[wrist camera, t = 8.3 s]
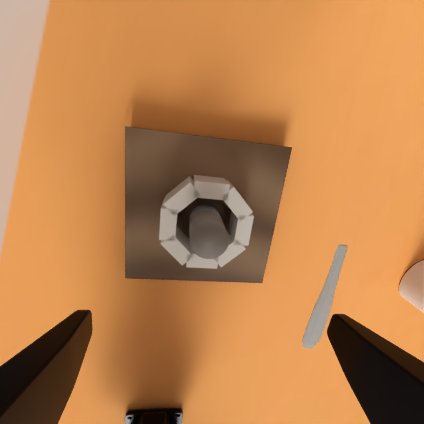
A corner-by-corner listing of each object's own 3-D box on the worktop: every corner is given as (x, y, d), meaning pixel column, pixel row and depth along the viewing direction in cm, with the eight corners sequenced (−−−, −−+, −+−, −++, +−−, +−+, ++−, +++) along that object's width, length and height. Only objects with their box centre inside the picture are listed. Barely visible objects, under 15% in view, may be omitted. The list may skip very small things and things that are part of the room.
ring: (236, 254, 19) (243, 269, 17) (160, 249, 19) (157, 265, 16) (249, 180, 17) (259, 187, 15) (165, 171, 17) (162, 177, 14)
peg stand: (257, 273, 22) (281, 321, 16) (129, 268, 20) (108, 319, 15) (283, 146, 18) (327, 151, 13) (130, 127, 17) (102, 123, 11)
